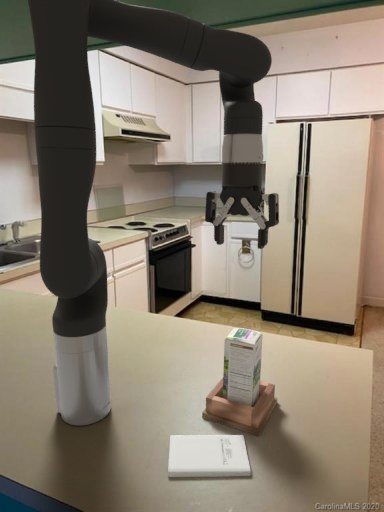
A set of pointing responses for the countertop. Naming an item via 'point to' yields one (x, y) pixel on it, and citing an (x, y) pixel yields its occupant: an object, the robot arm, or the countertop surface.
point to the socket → (241, 409)
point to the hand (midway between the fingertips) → (240, 246)
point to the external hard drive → (208, 456)
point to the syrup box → (242, 366)
